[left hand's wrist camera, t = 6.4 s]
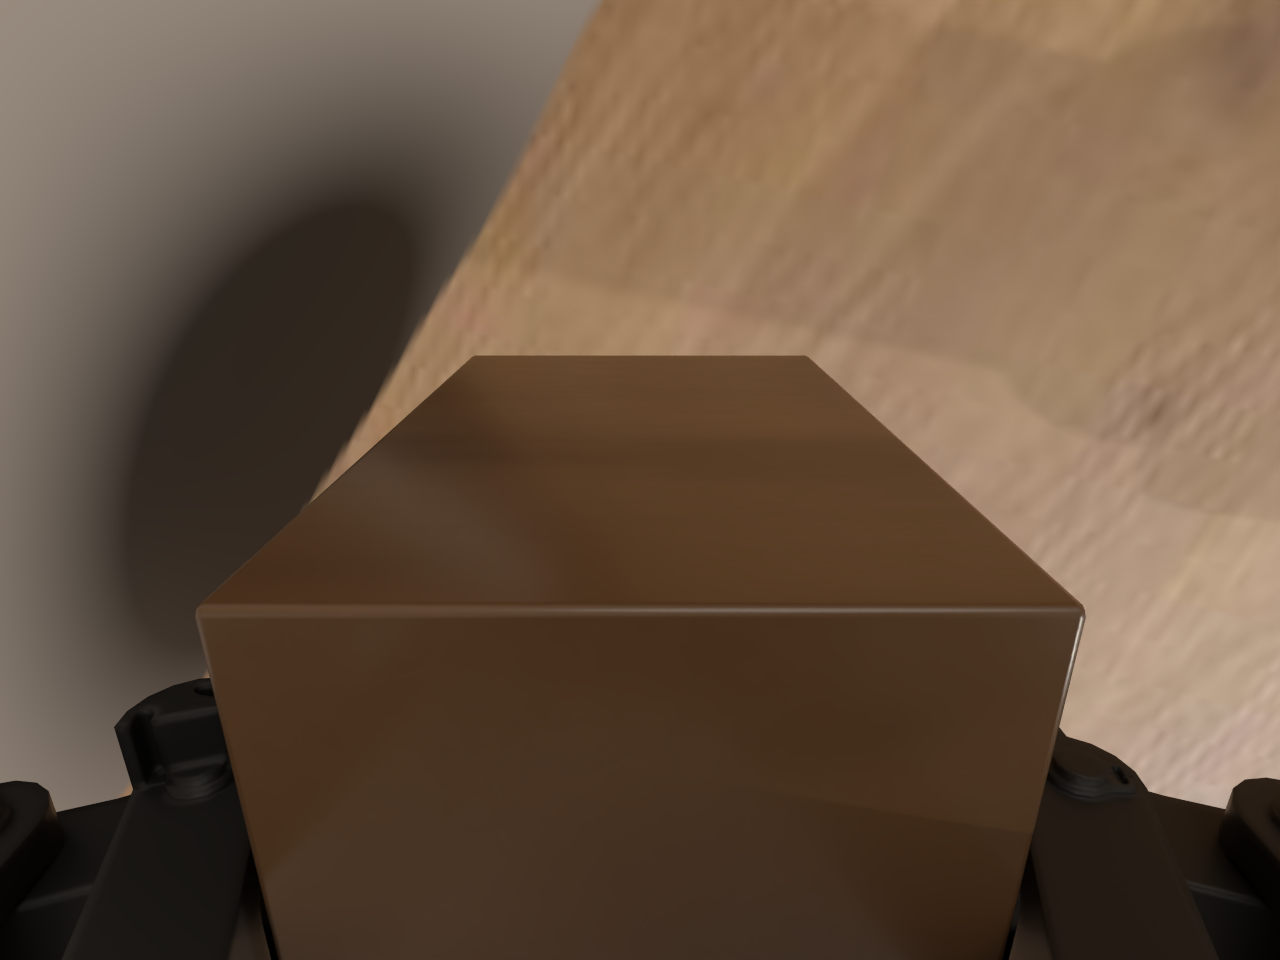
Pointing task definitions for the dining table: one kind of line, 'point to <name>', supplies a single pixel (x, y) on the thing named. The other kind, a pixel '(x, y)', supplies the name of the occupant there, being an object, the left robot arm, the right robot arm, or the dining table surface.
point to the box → (640, 680)
